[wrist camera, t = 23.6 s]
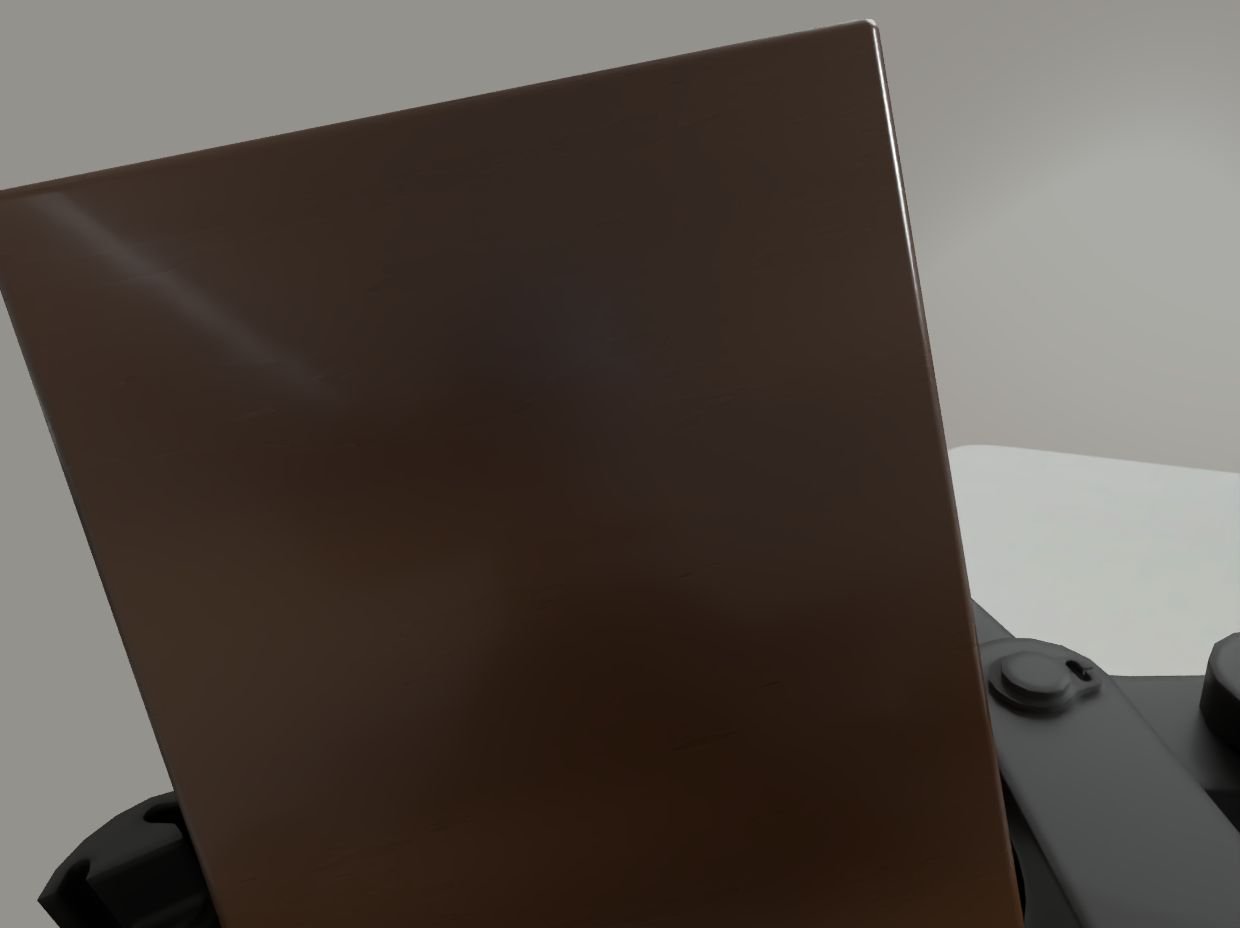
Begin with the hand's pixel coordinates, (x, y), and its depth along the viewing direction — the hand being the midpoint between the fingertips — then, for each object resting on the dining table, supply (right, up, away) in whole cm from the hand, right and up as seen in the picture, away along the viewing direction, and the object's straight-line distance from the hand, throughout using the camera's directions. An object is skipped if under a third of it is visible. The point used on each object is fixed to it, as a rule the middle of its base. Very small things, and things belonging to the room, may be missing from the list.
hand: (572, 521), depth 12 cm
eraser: (+2, -8, -5) cm, 10 cm away
